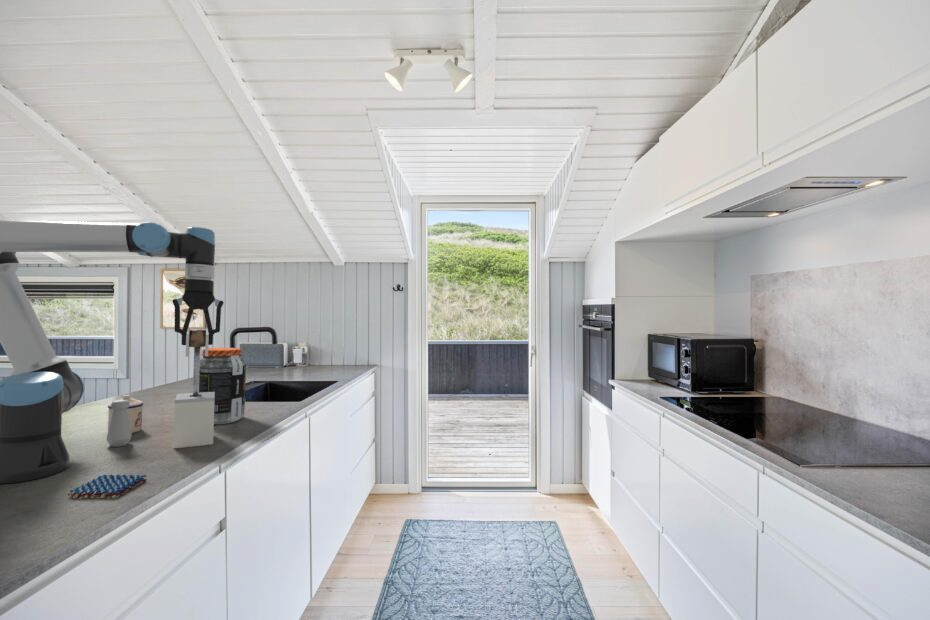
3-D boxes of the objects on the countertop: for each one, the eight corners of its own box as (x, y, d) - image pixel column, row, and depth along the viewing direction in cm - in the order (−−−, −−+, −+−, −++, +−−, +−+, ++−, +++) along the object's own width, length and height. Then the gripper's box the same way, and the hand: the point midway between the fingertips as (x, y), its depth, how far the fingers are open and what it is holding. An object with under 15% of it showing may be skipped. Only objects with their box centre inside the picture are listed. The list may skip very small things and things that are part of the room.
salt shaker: (102, 445, 127) (103, 400, 127) (125, 440, 132) (126, 397, 132) (112, 449, 125) (113, 403, 125) (135, 443, 130) (136, 399, 130)
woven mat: (101, 481, 103) (101, 473, 103) (148, 482, 104) (148, 473, 104) (64, 501, 93) (64, 491, 93) (116, 501, 94) (117, 491, 94)
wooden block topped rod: (180, 412, 129) (183, 330, 129) (182, 407, 135) (184, 329, 135) (208, 410, 132) (211, 330, 132) (209, 405, 139) (211, 329, 139)
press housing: (173, 448, 127) (174, 400, 127) (176, 439, 136) (177, 393, 136) (213, 444, 132) (214, 397, 132) (213, 435, 140) (214, 391, 140)
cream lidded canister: (142, 432, 141) (143, 396, 141) (105, 437, 135) (107, 399, 135) (142, 424, 150) (143, 390, 150) (108, 427, 145) (109, 392, 145)
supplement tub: (253, 419, 161) (255, 349, 161) (209, 428, 148) (211, 351, 148) (229, 412, 170) (231, 346, 170) (185, 420, 156) (187, 348, 156)
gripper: (163, 276, 126) (161, 357, 126) (232, 280, 135) (229, 356, 135) (166, 277, 133) (163, 355, 133) (231, 281, 141) (229, 353, 141)
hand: (197, 355), depth 134 cm, fingers closed on wooden block topped rod, 4 cm apart
